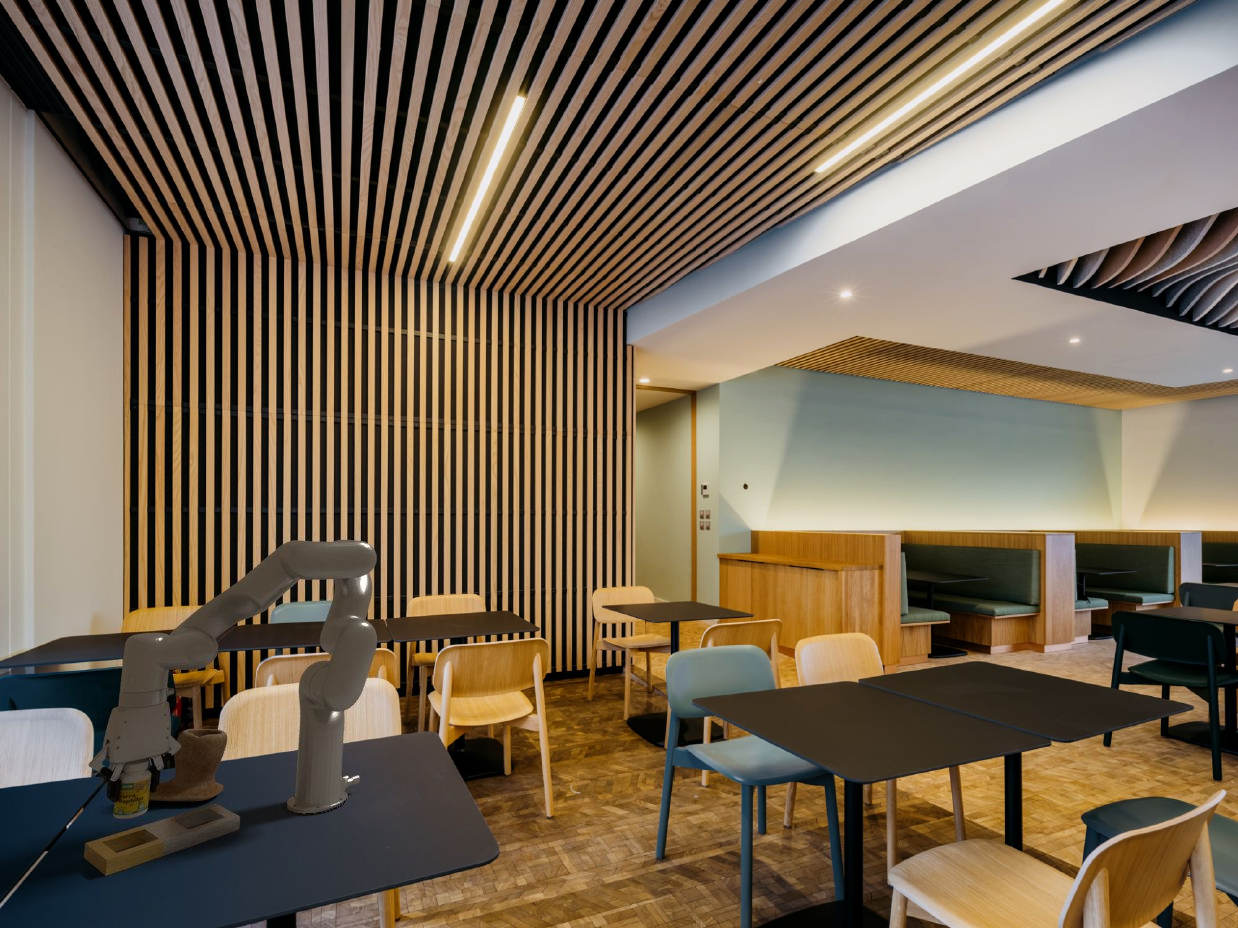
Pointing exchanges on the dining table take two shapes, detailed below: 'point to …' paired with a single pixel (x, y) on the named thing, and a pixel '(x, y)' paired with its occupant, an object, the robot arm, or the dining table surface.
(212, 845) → the dining table surface
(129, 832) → the holder
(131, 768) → the supplement bottle
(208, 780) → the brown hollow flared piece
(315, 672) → the robot arm
